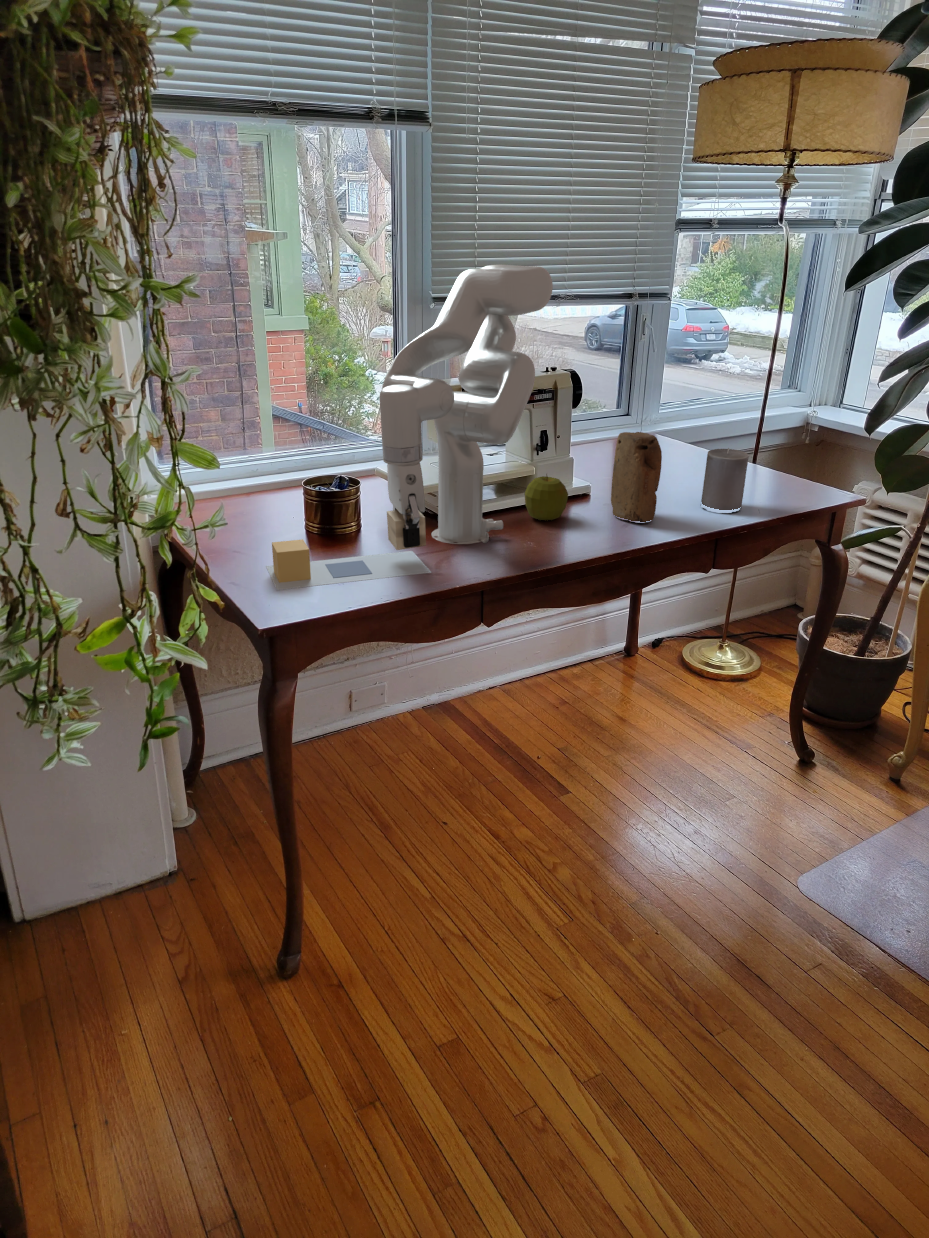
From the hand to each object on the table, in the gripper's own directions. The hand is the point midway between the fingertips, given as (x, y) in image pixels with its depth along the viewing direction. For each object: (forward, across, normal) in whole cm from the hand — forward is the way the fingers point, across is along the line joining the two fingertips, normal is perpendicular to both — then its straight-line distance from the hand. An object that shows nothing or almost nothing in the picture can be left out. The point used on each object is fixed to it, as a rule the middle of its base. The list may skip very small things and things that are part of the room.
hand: (406, 539), depth 183 cm
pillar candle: (+11, +15, -84) cm, 86 cm away
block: (+10, +14, -59) cm, 62 cm away
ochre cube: (+3, -1, +23) cm, 24 cm away
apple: (+9, +20, -39) cm, 45 cm away
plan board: (+5, -1, +12) cm, 14 cm away
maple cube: (+1, 0, 0) cm, 1 cm away
